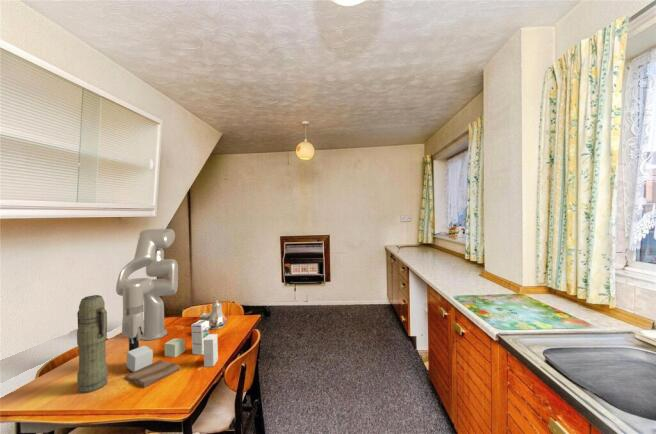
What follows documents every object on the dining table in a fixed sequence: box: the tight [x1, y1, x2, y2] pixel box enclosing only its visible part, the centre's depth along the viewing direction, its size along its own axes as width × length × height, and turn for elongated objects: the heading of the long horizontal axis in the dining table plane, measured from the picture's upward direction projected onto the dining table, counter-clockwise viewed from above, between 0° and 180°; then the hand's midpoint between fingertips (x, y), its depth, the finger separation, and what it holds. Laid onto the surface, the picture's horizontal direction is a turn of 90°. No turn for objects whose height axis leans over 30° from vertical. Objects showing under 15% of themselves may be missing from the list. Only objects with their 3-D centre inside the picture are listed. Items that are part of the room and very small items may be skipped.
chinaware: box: [198, 299, 228, 331], centre depth 165 cm, size 28×17×17 cm, turn 24°
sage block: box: [164, 337, 186, 358], centre depth 132 cm, size 6×6×6 cm
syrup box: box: [191, 319, 210, 356], centre depth 134 cm, size 6×6×14 cm
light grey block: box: [125, 345, 154, 373], centre depth 120 cm, size 7×7×7 cm
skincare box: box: [203, 333, 219, 368], centre depth 122 cm, size 6×4×12 cm
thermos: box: [76, 294, 109, 394], centre depth 107 cm, size 9×12×35 cm
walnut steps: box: [124, 359, 180, 389], centre depth 115 cm, size 14×14×2 cm
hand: (134, 350), depth 122 cm, fingers closed
